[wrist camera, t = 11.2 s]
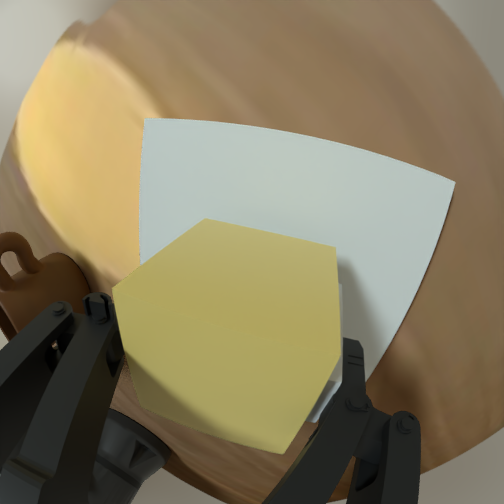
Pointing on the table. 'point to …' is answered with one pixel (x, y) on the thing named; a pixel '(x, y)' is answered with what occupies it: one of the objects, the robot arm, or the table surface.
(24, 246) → the mug
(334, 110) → the table surface
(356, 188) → the white square plate
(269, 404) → the pale yellow cube
